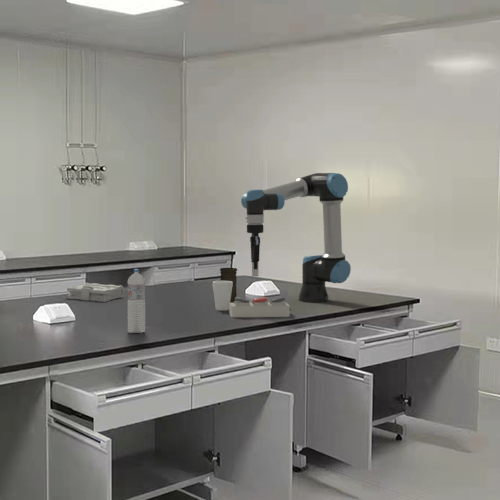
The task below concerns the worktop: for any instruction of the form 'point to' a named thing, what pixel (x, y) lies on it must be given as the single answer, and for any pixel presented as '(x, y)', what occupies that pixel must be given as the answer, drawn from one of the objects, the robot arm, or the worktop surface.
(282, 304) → the switch panel
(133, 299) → the water bottle
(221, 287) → the foam cup
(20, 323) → the worktop surface
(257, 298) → the plate
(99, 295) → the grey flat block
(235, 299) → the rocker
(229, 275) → the container
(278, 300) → the rocker
